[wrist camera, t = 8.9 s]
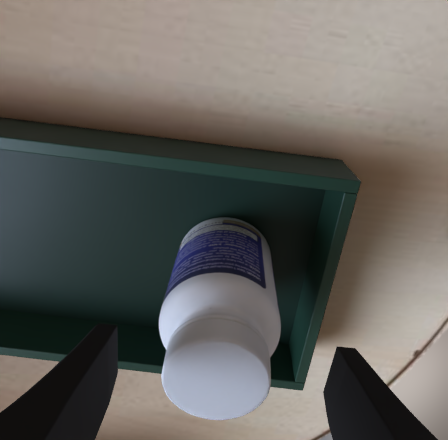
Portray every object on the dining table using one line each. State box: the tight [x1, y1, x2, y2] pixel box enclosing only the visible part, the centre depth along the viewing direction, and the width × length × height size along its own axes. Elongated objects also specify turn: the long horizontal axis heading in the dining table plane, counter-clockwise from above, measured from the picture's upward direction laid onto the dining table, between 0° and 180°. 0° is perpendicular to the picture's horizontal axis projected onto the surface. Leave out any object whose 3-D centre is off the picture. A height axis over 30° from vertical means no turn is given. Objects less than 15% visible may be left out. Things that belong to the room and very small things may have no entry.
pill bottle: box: [159, 217, 281, 420], centre depth 18 cm, size 5×5×9 cm
